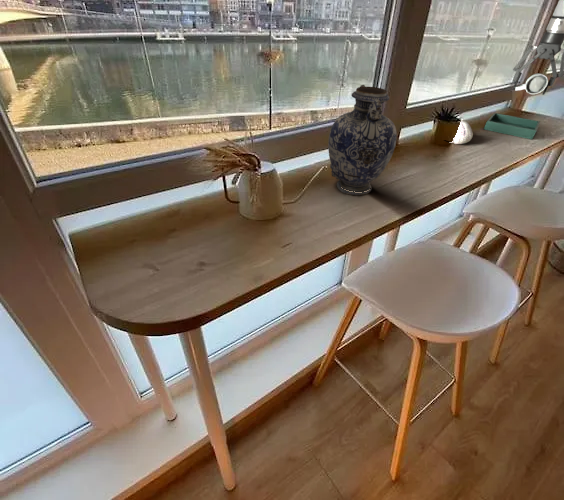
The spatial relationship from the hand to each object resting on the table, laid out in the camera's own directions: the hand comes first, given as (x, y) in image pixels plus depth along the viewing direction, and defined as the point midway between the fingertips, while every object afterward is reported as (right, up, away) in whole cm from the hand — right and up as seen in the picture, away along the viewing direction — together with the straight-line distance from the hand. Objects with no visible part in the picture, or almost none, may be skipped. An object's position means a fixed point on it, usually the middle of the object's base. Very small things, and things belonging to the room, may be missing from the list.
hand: (528, 91), depth 143 cm
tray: (-2, -14, +8) cm, 16 cm away
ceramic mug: (0, 0, 0) cm, 0 cm away
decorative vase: (-87, -51, -42) cm, 109 cm away
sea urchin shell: (-36, -23, -6) cm, 43 cm away
